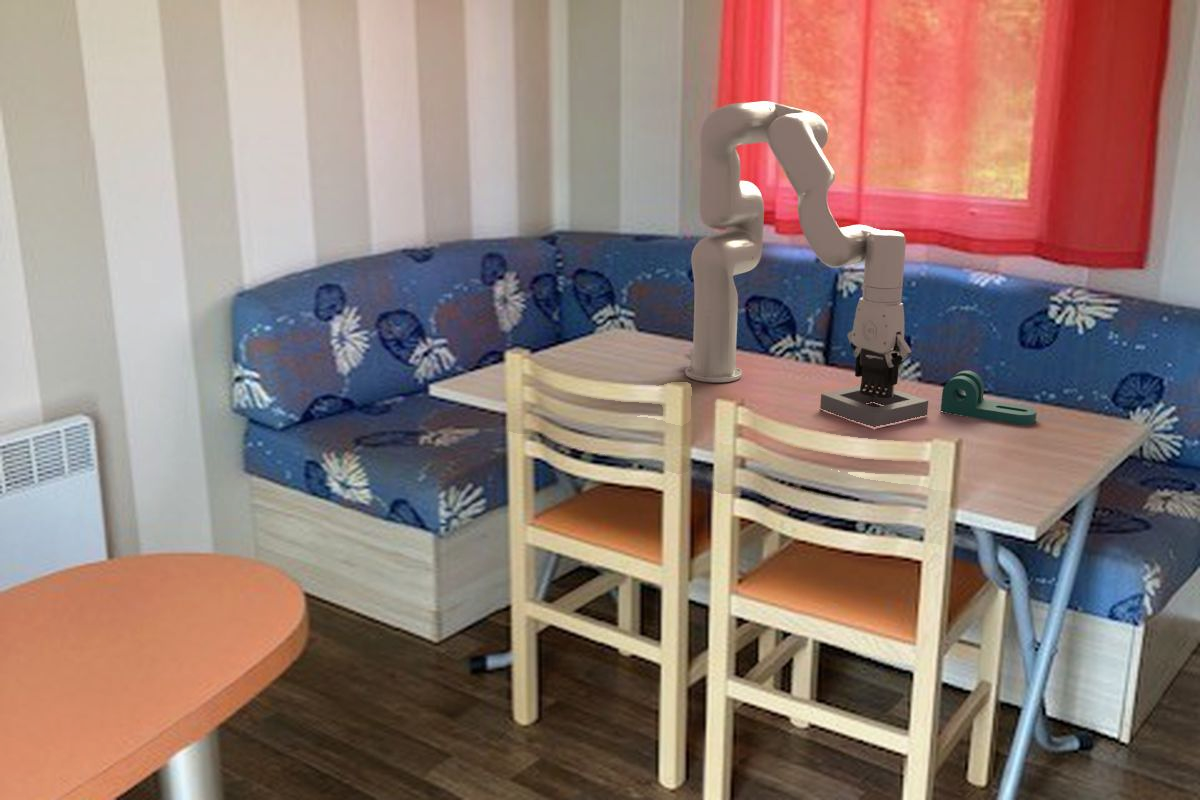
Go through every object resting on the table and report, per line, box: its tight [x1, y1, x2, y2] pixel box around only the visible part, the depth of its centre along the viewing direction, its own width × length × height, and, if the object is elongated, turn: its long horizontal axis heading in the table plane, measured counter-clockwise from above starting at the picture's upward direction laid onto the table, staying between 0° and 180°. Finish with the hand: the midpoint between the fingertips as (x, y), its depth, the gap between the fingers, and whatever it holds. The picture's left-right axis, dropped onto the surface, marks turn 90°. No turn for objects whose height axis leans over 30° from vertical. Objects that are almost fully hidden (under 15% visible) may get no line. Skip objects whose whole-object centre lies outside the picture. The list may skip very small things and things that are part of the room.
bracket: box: [940, 370, 1038, 426], centre depth 248 cm, size 18×7×8 cm, turn 60°
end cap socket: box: [819, 384, 929, 427], centre depth 248 cm, size 15×15×4 cm
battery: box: [860, 348, 895, 398], centre depth 246 cm, size 7×4×11 cm, turn 55°
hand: (875, 379), depth 247 cm, fingers closed on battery, 7 cm apart
